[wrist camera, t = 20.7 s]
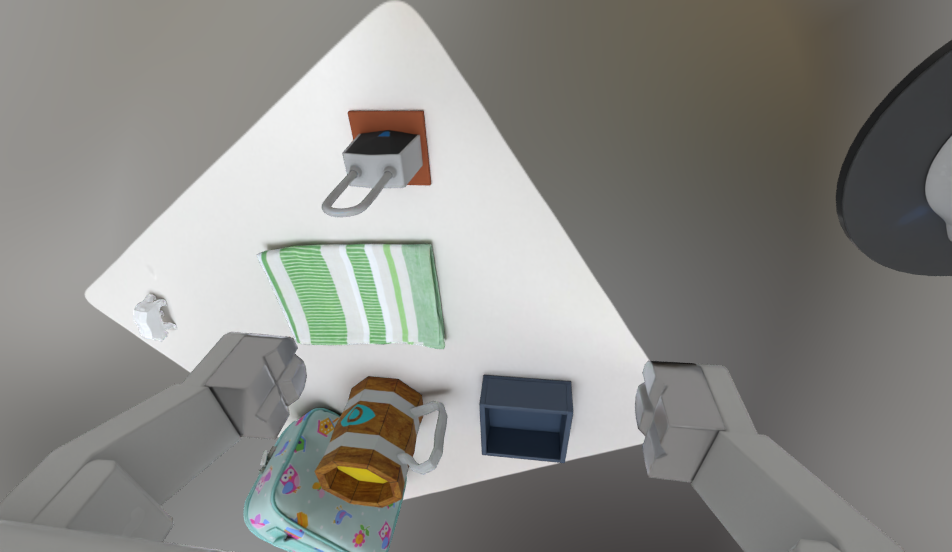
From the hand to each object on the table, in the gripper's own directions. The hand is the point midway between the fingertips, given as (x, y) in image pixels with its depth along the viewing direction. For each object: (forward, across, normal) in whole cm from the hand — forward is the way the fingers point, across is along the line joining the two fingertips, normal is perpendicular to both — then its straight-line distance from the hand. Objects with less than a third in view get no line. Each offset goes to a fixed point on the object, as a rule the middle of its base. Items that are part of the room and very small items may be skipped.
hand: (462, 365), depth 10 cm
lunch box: (+37, +31, +66) cm, 82 cm away
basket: (+37, -2, +51) cm, 63 cm away
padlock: (+37, +14, +8) cm, 40 cm away
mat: (+37, +14, +8) cm, 40 cm away
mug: (+37, +19, +52) cm, 67 cm away
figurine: (+37, +56, +35) cm, 76 cm away
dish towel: (+37, +22, +29) cm, 52 cm away
